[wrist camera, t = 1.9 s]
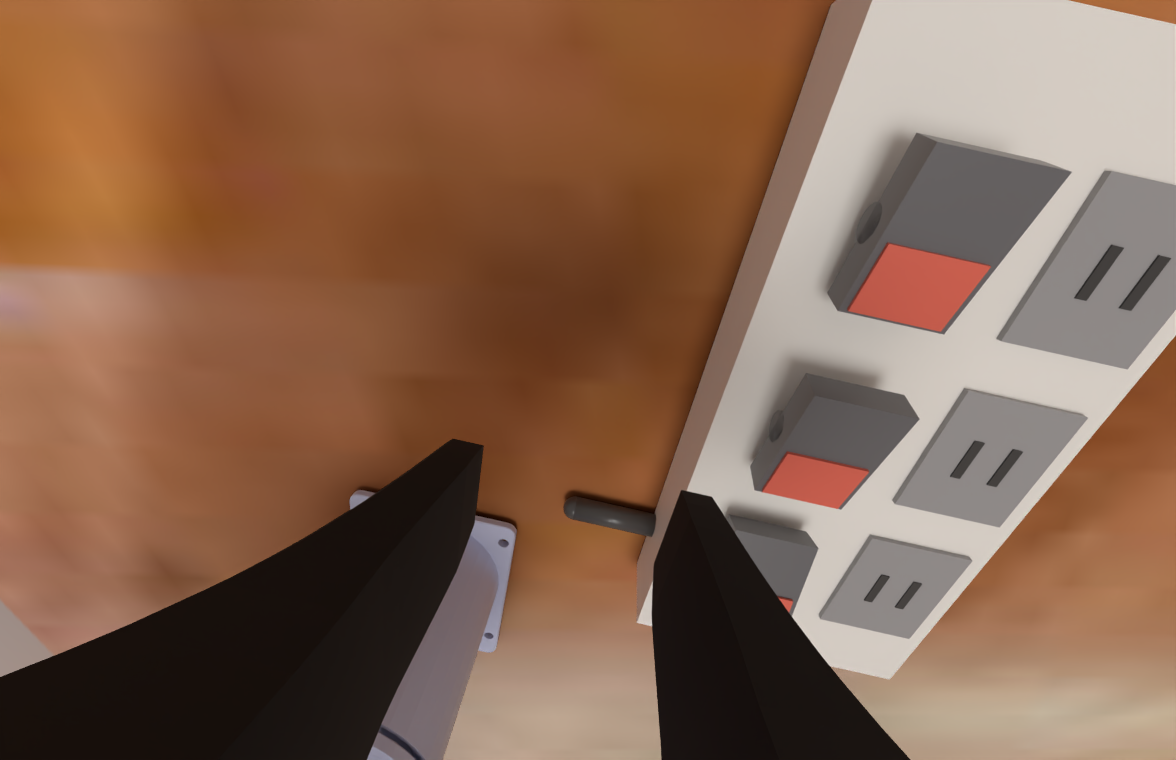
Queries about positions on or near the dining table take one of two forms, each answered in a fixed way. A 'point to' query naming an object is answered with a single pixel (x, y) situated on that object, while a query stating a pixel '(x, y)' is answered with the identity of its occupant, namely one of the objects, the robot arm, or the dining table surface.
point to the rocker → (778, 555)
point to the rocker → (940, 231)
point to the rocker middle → (830, 440)
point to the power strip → (979, 334)
